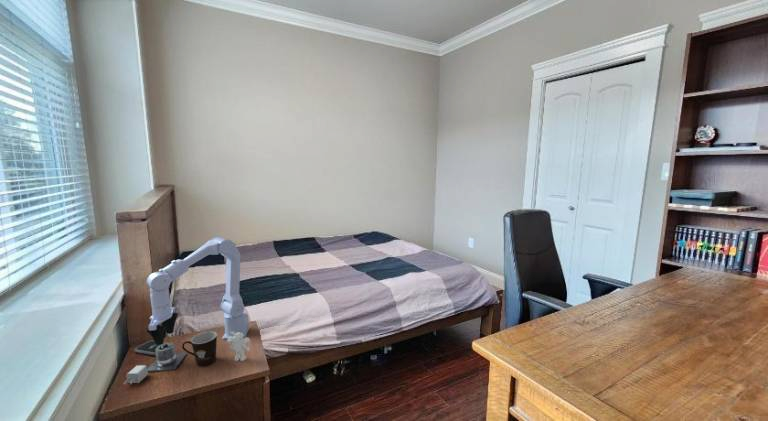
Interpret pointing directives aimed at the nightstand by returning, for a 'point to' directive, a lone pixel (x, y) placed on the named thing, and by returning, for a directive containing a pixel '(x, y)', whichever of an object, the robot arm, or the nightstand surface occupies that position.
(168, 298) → the robot arm
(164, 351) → the ring
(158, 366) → the silver sculpture on base
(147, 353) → the external hard drive
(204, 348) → the coffee mug
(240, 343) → the hat wearing toy figure
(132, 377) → the usb wall charger
